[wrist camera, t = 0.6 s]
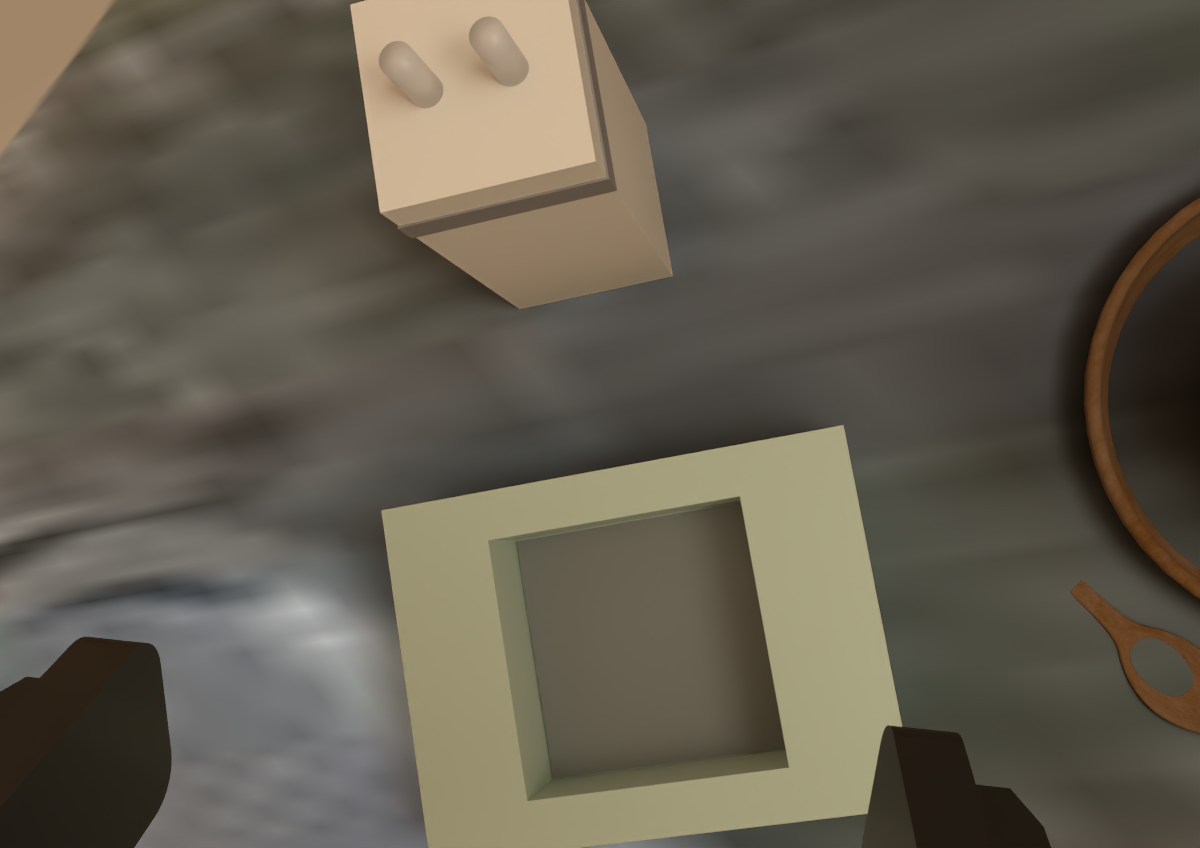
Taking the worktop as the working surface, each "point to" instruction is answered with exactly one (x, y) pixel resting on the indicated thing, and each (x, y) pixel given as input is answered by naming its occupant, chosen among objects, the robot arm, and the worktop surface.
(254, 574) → the worktop surface
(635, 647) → the green rectangular tray
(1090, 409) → the place setting
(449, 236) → the block
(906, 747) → the robot arm
